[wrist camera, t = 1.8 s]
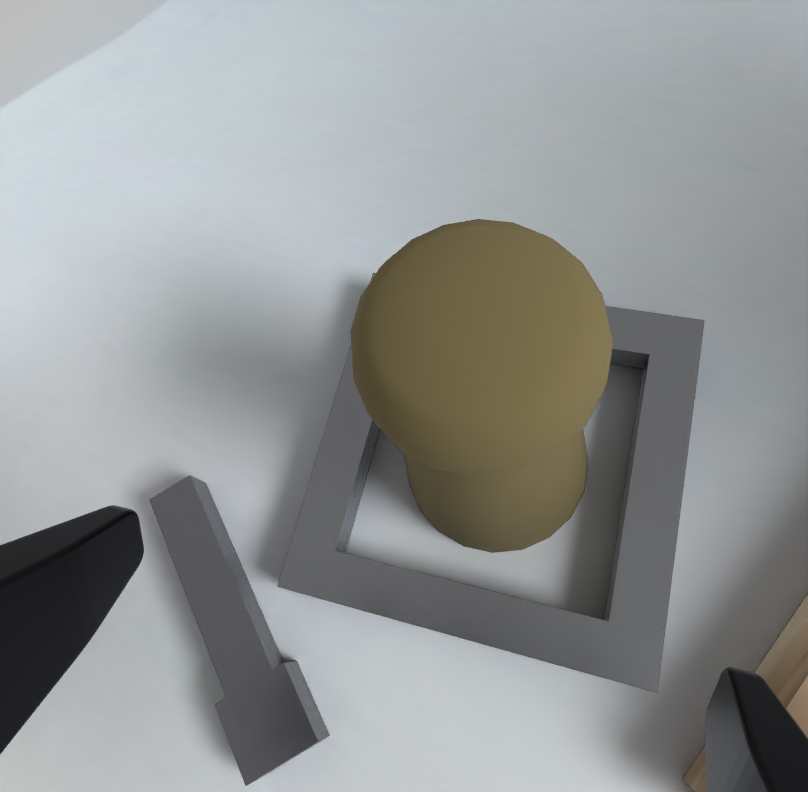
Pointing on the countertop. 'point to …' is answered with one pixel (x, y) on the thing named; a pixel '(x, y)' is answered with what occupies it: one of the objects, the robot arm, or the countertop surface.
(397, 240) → the countertop surface
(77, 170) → the countertop surface
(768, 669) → the tray
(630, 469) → the socket collar
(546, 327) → the cork
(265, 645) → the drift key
